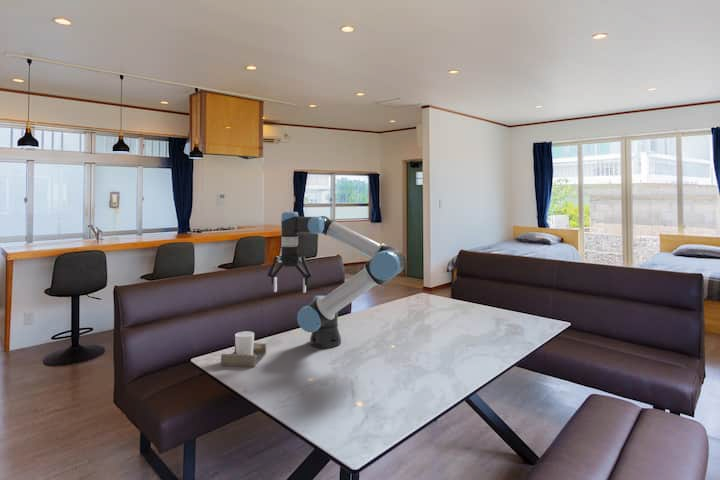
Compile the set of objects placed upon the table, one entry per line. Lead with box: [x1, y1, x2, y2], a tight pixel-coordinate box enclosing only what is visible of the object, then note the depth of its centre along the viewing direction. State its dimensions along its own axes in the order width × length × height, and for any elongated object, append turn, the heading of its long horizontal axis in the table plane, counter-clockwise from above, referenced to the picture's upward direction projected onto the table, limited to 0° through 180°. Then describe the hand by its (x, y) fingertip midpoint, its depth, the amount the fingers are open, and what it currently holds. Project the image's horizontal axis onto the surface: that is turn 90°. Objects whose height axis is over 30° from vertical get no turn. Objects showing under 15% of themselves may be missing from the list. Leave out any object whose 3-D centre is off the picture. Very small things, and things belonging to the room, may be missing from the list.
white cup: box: [234, 330, 255, 355], centre depth 174 cm, size 8×8×10 cm
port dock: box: [220, 342, 267, 368], centre depth 175 cm, size 14×16×4 cm
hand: (289, 292), depth 187 cm, fingers open, 13 cm apart
